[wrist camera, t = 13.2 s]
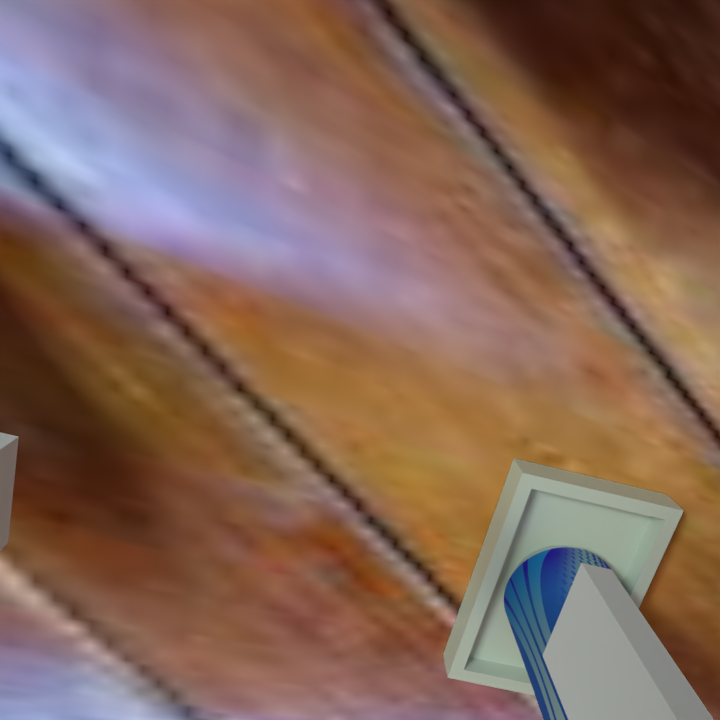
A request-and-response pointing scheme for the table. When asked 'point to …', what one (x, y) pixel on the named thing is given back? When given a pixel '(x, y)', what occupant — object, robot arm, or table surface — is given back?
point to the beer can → (542, 612)
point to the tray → (544, 529)
